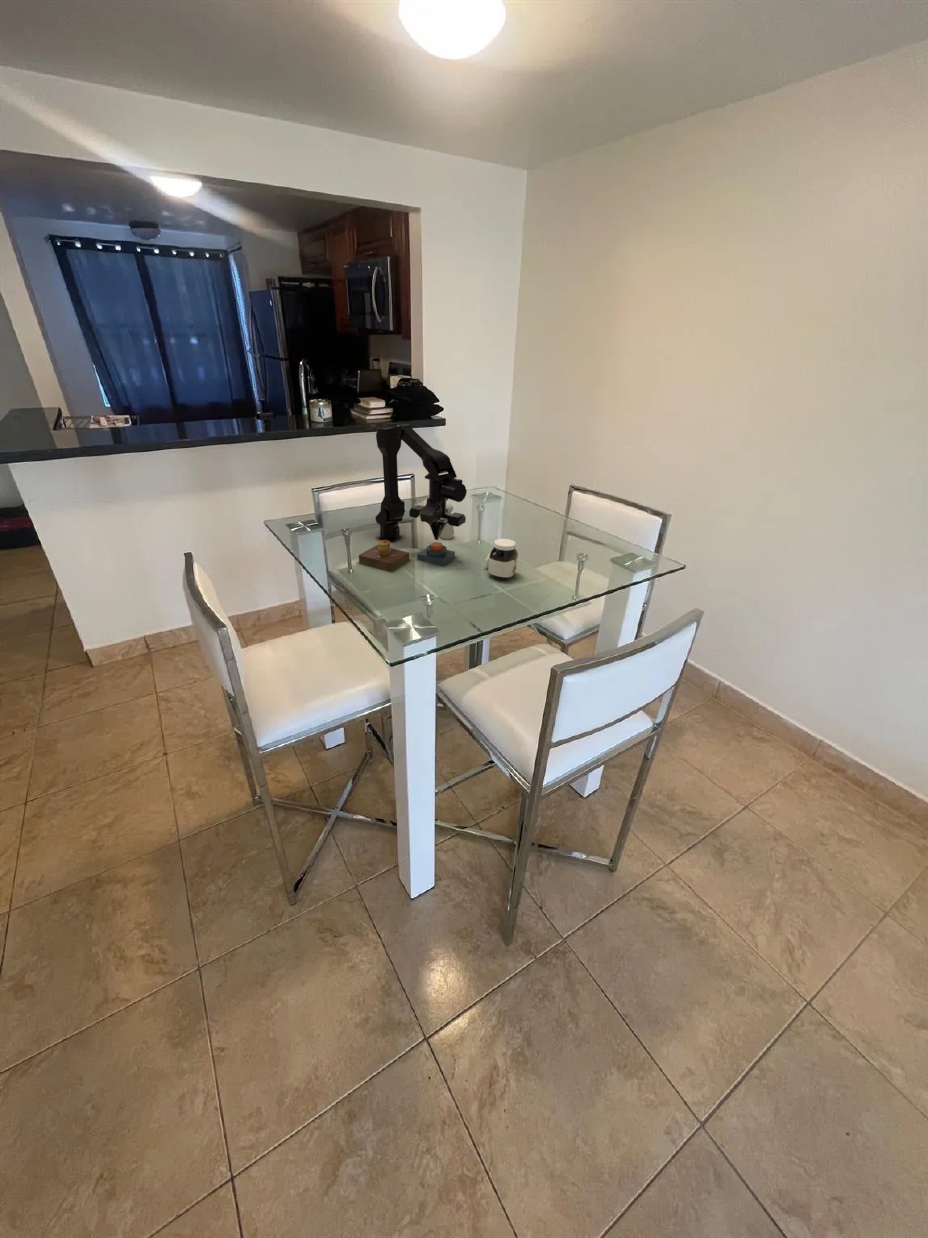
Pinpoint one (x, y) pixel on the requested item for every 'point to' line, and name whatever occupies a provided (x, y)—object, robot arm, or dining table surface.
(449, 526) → the salt shaker
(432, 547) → the button
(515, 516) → the dining table surface
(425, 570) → the dining table surface
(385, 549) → the dial
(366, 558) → the dial panel
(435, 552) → the button housing
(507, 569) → the spread jar
